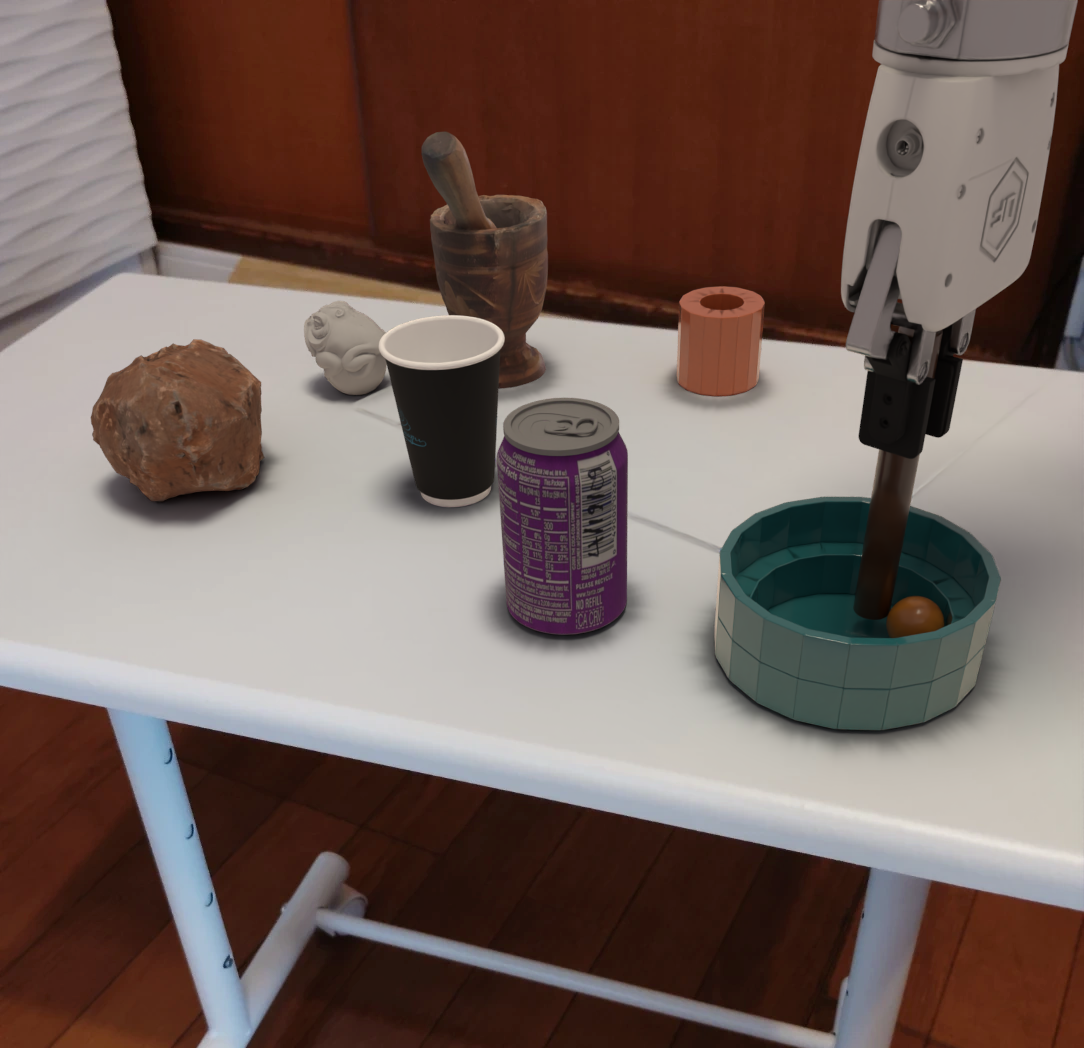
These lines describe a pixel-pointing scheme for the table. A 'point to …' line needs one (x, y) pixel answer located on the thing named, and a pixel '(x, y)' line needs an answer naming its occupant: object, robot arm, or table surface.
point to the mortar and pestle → (489, 256)
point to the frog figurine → (346, 347)
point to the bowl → (848, 616)
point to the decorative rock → (182, 421)
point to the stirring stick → (887, 522)
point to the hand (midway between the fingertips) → (903, 436)
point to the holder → (719, 340)
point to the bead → (914, 617)
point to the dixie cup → (447, 403)
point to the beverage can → (564, 515)
